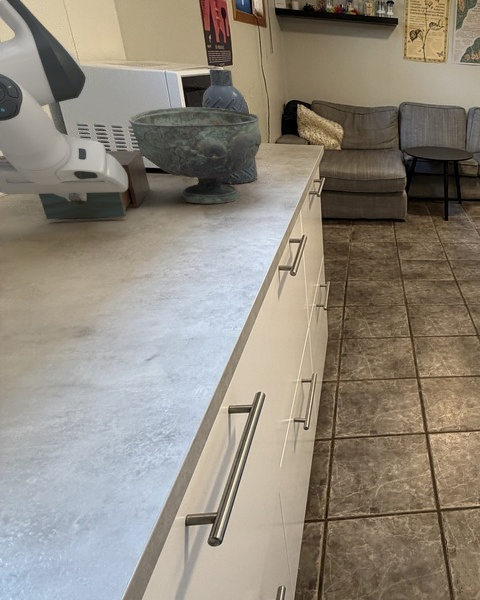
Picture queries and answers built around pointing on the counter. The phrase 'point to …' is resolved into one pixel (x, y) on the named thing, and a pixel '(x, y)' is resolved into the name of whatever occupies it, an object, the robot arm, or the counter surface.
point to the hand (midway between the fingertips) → (77, 198)
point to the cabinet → (133, 174)
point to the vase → (230, 99)
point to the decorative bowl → (199, 146)
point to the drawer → (86, 205)
